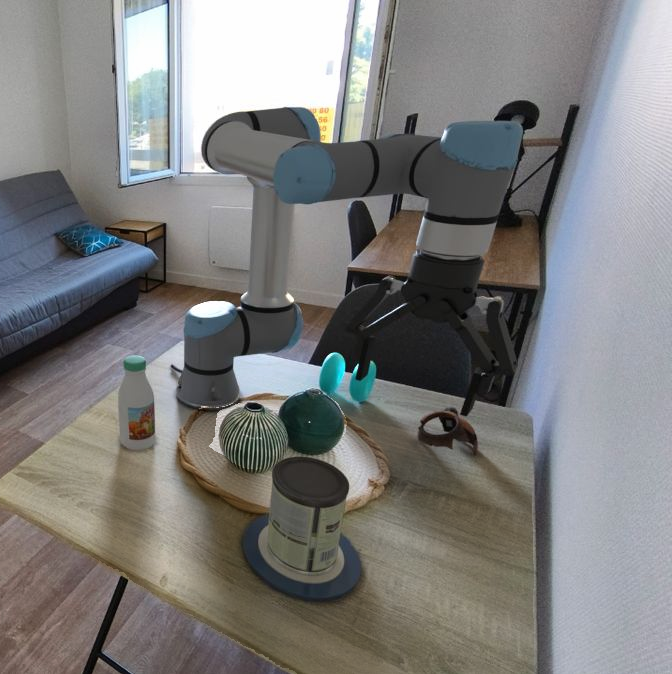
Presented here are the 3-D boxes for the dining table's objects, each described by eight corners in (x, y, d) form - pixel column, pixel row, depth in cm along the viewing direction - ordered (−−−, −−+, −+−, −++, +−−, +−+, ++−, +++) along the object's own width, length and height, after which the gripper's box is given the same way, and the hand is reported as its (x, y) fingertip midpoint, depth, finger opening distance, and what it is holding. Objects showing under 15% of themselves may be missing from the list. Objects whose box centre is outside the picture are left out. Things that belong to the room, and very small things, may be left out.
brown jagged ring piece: (484, 467, 95) (469, 437, 92) (426, 470, 101) (411, 442, 99) (479, 422, 103) (466, 393, 100) (426, 427, 109) (411, 400, 107)
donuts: (360, 410, 114) (367, 371, 110) (314, 397, 121) (319, 360, 117) (373, 392, 121) (380, 355, 117) (329, 381, 127) (334, 345, 123)
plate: (222, 557, 80) (222, 551, 80) (273, 501, 91) (274, 496, 90) (333, 624, 69) (334, 618, 68) (377, 551, 79) (378, 545, 79)
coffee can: (280, 515, 86) (287, 447, 80) (345, 544, 79) (358, 472, 74) (254, 553, 79) (260, 482, 74) (324, 588, 73) (336, 512, 67)
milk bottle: (116, 448, 109) (111, 366, 101) (124, 428, 115) (120, 350, 107) (151, 453, 106) (149, 369, 98) (158, 432, 113) (156, 352, 105)
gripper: (587, 263, 58) (525, 417, 67) (359, 232, 75) (335, 357, 84) (575, 279, 54) (511, 441, 63) (337, 242, 71) (313, 373, 80)
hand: (410, 393), depth 74 cm, fingers open, 13 cm apart
